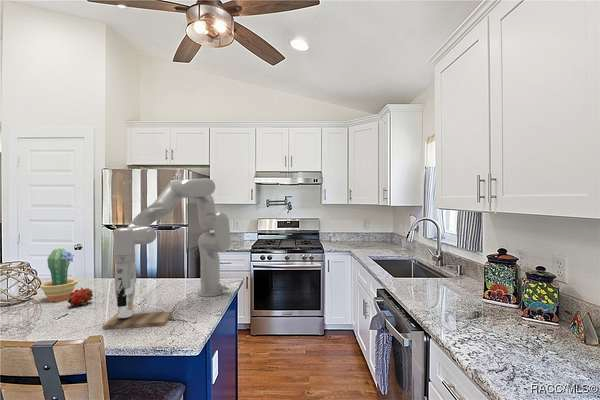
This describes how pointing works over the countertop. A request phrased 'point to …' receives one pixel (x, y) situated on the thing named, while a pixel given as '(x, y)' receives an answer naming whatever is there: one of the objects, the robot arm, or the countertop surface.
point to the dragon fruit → (80, 297)
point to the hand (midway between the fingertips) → (125, 302)
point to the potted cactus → (59, 276)
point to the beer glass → (128, 309)
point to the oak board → (139, 320)
